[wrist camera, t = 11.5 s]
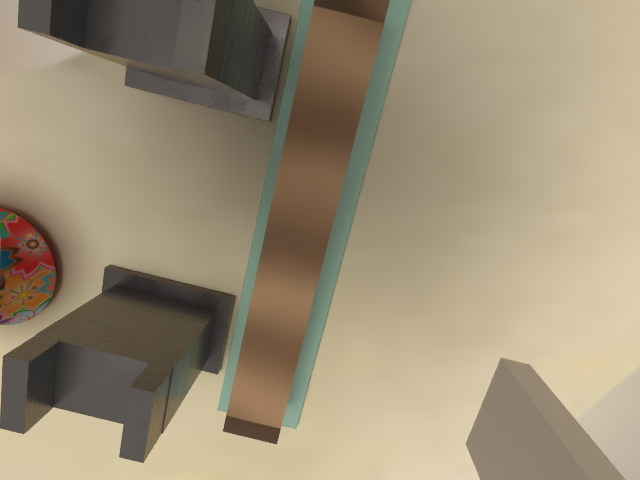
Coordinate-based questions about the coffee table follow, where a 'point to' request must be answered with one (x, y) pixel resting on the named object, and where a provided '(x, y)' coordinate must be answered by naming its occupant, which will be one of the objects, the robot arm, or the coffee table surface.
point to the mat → (344, 209)
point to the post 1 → (176, 46)
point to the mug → (23, 270)
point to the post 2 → (120, 357)
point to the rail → (303, 208)
